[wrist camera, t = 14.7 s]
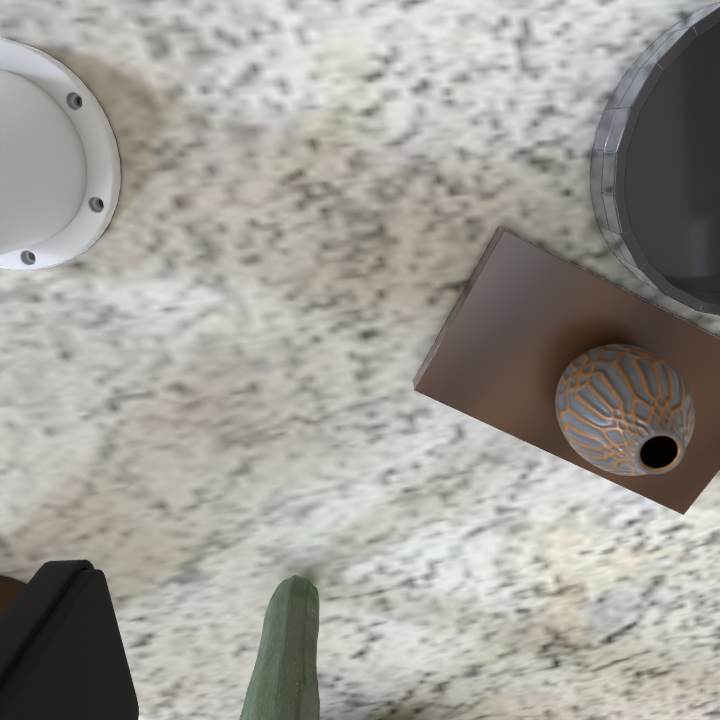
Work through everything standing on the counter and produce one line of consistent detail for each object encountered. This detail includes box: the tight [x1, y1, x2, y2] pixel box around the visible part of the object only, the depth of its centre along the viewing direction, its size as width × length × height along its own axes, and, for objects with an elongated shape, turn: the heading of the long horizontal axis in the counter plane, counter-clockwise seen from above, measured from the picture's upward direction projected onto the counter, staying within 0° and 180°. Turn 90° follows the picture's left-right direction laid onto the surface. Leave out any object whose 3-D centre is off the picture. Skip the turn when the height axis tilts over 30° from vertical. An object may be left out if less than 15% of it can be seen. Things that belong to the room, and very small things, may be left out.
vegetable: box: [240, 576, 320, 720], centre depth 37 cm, size 4×4×20 cm
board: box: [413, 226, 720, 515], centre depth 39 cm, size 20×11×2 cm, turn 64°
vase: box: [555, 344, 695, 476], centre depth 34 cm, size 7×7×9 cm
